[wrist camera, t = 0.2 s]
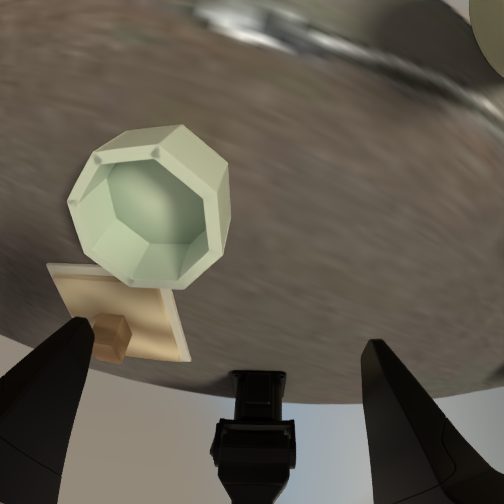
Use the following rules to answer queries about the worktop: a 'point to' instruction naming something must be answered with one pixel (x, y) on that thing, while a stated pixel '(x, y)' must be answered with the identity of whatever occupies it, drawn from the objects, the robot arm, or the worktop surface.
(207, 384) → the worktop surface
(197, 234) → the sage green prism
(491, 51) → the can
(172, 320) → the mat
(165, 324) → the lid
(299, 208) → the worktop surface
